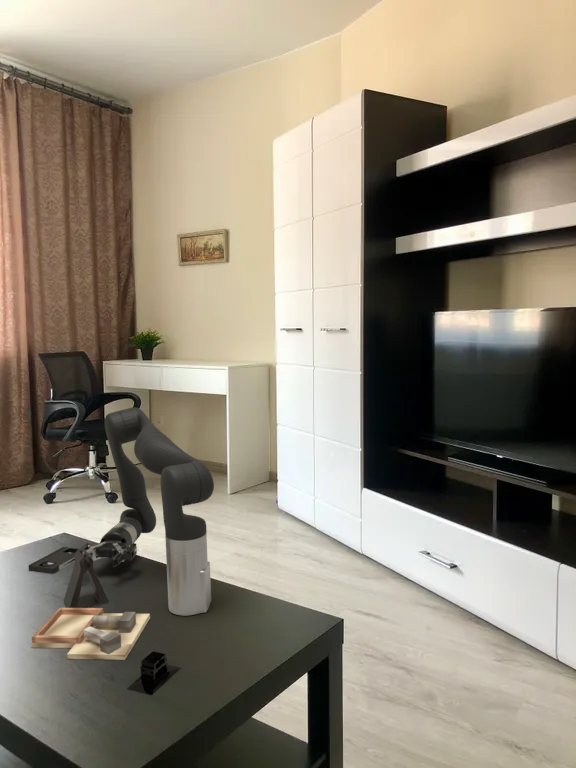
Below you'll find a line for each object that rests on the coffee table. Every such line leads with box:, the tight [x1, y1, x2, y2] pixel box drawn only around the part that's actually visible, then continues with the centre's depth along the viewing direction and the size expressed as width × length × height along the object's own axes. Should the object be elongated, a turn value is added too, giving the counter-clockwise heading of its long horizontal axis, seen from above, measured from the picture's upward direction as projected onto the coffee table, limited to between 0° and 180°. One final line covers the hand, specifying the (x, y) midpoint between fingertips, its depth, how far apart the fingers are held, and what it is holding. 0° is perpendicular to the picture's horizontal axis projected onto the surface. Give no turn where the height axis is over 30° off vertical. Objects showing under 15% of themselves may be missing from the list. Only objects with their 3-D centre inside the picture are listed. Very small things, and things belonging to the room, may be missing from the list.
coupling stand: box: [30, 607, 151, 661], centre depth 129 cm, size 21×17×4 cm
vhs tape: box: [28, 546, 80, 575], centre depth 171 cm, size 14×8×2 cm, turn 162°
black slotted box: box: [126, 650, 182, 696], centre depth 114 cm, size 12×7×5 cm, turn 156°
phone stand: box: [63, 549, 109, 608], centre depth 145 cm, size 9×6×12 cm, turn 120°
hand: (96, 563), depth 153 cm, fingers open, 8 cm apart
